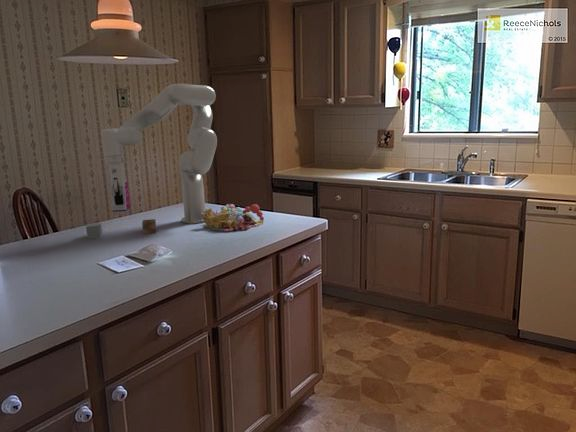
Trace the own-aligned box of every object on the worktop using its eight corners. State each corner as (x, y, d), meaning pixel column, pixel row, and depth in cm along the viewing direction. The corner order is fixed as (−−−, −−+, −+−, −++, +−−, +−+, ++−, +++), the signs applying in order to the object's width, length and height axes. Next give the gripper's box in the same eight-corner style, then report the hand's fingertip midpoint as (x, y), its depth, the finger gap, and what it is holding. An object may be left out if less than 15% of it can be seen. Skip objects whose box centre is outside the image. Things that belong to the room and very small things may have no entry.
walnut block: (156, 230, 208) (155, 219, 207) (155, 233, 203) (154, 221, 202) (144, 231, 207) (143, 220, 206) (143, 234, 202) (142, 222, 201)
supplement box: (126, 211, 198) (122, 183, 195) (112, 212, 198) (108, 184, 195) (131, 208, 204) (127, 181, 201) (117, 208, 204) (113, 181, 201)
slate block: (102, 234, 204) (101, 223, 203) (100, 237, 199) (98, 225, 198) (90, 235, 203) (88, 223, 202) (87, 238, 198) (86, 226, 197)
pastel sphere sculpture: (236, 235, 196) (235, 213, 194) (193, 229, 209) (191, 208, 207) (270, 222, 217) (270, 201, 215) (229, 217, 229) (228, 197, 227)
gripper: (121, 161, 188) (127, 206, 193) (127, 156, 205) (132, 198, 209) (101, 163, 187) (107, 208, 191) (108, 157, 204) (114, 199, 208)
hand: (120, 202), depth 200 cm, fingers closed on supplement box, 6 cm apart
